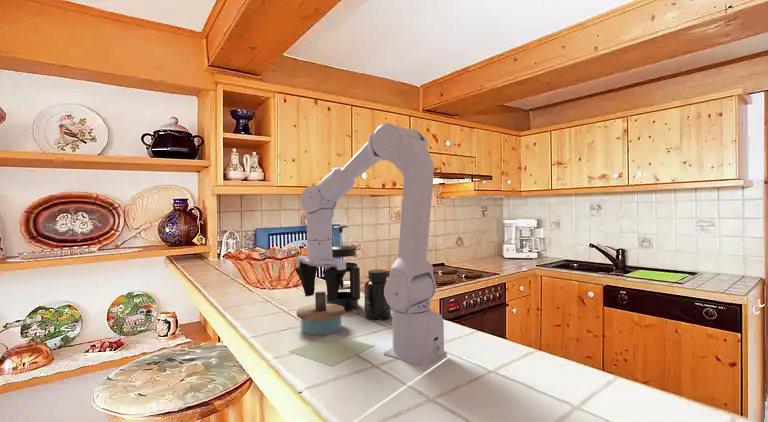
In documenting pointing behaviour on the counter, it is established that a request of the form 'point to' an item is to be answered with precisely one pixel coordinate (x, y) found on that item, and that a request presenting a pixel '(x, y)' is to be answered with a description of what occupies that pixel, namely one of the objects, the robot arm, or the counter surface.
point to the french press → (350, 298)
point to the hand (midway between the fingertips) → (320, 297)
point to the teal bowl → (321, 326)
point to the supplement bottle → (376, 296)
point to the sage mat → (331, 349)
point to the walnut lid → (320, 309)
